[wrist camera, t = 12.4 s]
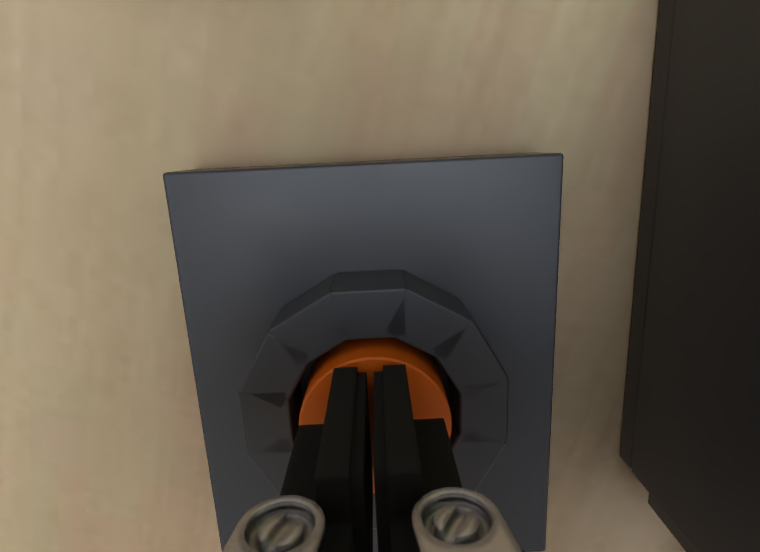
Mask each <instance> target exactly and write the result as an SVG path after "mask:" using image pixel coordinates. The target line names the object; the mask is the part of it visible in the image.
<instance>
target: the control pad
mask: <svg viewBox="0 0 760 552" xmlns="http://www.w3.org/2000/svg"><path fill="white" fill-rule="evenodd" d="M562 175H563V154H561V153H519V154H498V155H478V156H458V157H437V158H417V159H397V160H376V161H356V162H336V163H315V164H295V165H275V166H254V167H234V168H213V169H194V170H185V171H176V172H167V173H164V174H163V178H164V185H165V191H166V198H167V204H168V210H169V217H170V223H171V229H172V236H173V242H174V249H175V255H176V261H177V268H178V274H179V280H180V287H181V293H182V300H183V306H184V312H185V319H186V325H187V331H188V338H189V344H190V351H191V357H192V363H193V370H194V376H195V382H196V389H197V395H198V401H199V408H200V414H201V421H202V427H203V433H204V440H205V446H206V452H207V459H208V465H209V472H210V478H211V484H212V491H213V497H214V503H215V510H216V516H217V523H218V529H219V535H220V542H221V548H222V551H223V549H224V547H225V545H226V544H227V542H228V540H229V538H230V536H231V535H232V533H233V531H234V529H235V527H236V526H237V524H238V522H239V521H240V520H241V518H242V517H243V516H244V515H245V513H246V512H248V511H249V510H250V509H252V508H253V507H254V506H255V505H257V504H259V503H261V502H263V501H265V500H267V499H270V498H274V497H278V496H280V493H281V490H282V486H283V482H284V478H285V475H286V471H287V467H288V464H289V460H290V456H291V452H292V449H293V445H294V441H295V437H296V434H297V430H298V427H299V416H300V411H301V407H302V403H303V400H304V396H305V393H306V389H307V385H308V382H309V378H310V375H311V372H312V370H313V367H314V365H315V364H316V362H317V360H318V359H319V357H320V356H321V355H323V354H324V353H326V352H328V351H329V350H331V349H333V348H334V347H336V346H337V345H339V344H341V343H342V342H344V341H346V340H349V339H369V338H389V337H395V338H397V339H399V340H401V341H403V342H405V343H407V344H409V345H411V346H414V347H416V348H418V349H420V350H422V351H424V352H426V353H428V354H429V355H430V357H431V358H432V359H433V361H434V363H435V364H436V366H437V368H438V371H439V373H440V377H441V380H442V383H443V387H444V390H445V393H446V397H447V400H448V404H449V407H450V412H451V418H452V430H451V436H450V443H451V447H452V451H453V455H454V458H455V462H456V466H457V470H458V474H459V477H460V481H461V485H462V488H466V489H471V490H473V491H476V492H478V493H481V494H482V495H484V496H485V497H487V498H488V499H490V500H491V501H492V502H493V503H494V505H495V506H496V507H497V508H498V510H499V511H500V513H501V515H502V516H503V518H504V520H505V522H506V524H507V525H508V527H509V529H510V531H511V532H512V534H513V536H514V538H515V540H516V541H517V543H518V545H519V547H520V548H521V549H522V550H524V551H525V552H535V551H545V543H546V521H547V500H548V478H549V457H550V435H551V413H552V392H553V370H554V348H555V327H556V305H557V283H558V262H559V240H560V218H561V197H562ZM373 552H378V539H377V522H376V505H375V493H373Z"/></svg>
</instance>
